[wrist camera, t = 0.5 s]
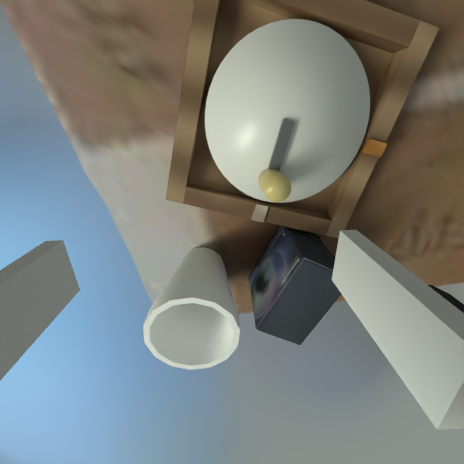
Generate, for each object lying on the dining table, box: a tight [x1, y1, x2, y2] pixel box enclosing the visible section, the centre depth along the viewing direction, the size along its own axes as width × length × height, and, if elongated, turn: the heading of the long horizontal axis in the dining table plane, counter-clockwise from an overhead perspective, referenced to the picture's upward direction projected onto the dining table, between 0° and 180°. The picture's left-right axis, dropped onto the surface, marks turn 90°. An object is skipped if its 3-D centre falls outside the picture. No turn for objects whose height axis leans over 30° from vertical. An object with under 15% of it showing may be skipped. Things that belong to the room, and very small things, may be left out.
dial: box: [205, 19, 370, 203], centre depth 24 cm, size 17×17×6 cm
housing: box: [166, 0, 439, 239], centre depth 26 cm, size 22×22×4 cm
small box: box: [249, 225, 341, 345], centre depth 31 cm, size 11×6×10 cm, turn 155°
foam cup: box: [143, 247, 240, 370], centre depth 30 cm, size 10×9×13 cm
